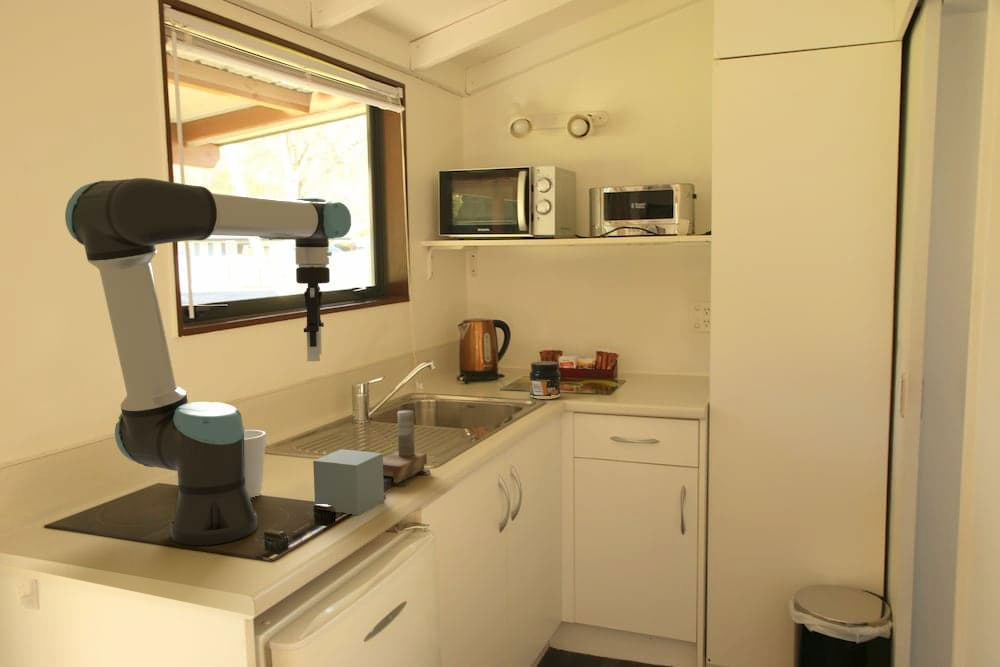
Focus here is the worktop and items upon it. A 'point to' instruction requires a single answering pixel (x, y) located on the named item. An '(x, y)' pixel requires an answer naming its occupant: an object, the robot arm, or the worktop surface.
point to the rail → (390, 481)
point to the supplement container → (544, 378)
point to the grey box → (349, 480)
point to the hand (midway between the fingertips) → (314, 357)
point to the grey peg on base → (404, 451)
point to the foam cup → (254, 460)
